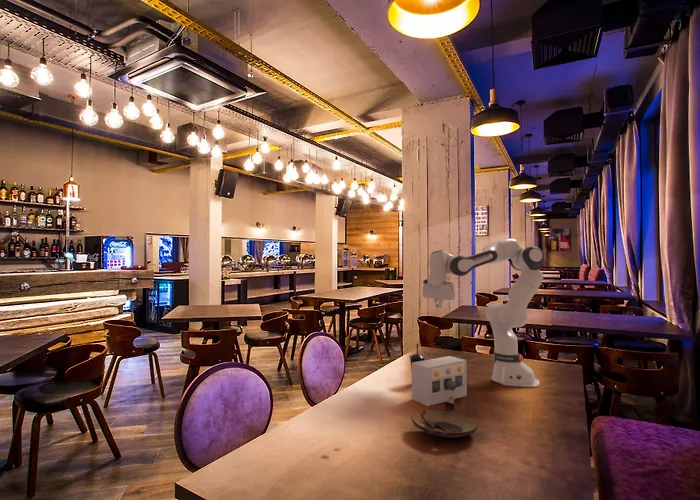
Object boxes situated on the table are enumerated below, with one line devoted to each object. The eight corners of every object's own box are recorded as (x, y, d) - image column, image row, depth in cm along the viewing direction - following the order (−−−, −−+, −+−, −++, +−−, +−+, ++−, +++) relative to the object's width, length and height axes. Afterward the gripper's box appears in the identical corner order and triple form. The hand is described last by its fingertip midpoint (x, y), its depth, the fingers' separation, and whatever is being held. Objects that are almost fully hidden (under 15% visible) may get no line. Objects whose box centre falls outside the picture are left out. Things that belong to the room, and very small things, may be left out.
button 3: (439, 390, 167) (439, 381, 167) (433, 392, 165) (432, 382, 165) (434, 388, 169) (434, 379, 169) (428, 390, 167) (427, 381, 167)
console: (467, 396, 175) (467, 360, 176) (428, 406, 162) (428, 368, 163) (450, 389, 184) (449, 355, 185) (411, 399, 171) (411, 362, 172)
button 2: (456, 389, 168) (456, 380, 168) (449, 391, 166) (449, 381, 166) (451, 387, 171) (451, 378, 171) (444, 389, 168) (444, 380, 169)
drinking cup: (424, 382, 196) (424, 342, 197) (426, 386, 189) (425, 345, 190) (409, 381, 197) (409, 342, 198) (410, 386, 189) (410, 345, 190)
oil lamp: (397, 435, 135) (397, 412, 136) (442, 411, 157) (442, 392, 157) (455, 457, 120) (455, 431, 120) (496, 427, 141) (496, 406, 142)
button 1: (462, 385, 174) (461, 376, 174) (455, 386, 172) (455, 377, 172) (456, 383, 177) (456, 374, 177) (450, 385, 175) (450, 376, 175)
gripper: (457, 281, 196) (457, 309, 196) (429, 280, 214) (429, 305, 213) (448, 282, 193) (449, 309, 192) (420, 280, 210) (420, 306, 210)
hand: (438, 307), depth 203 cm, fingers closed
